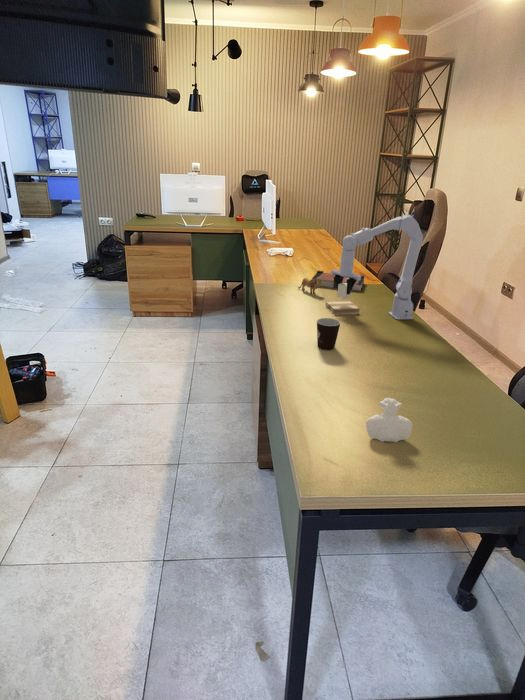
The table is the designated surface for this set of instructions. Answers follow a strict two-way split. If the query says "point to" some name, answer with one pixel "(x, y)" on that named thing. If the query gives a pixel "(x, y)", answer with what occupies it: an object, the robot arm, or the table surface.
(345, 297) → the white block
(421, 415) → the table surface
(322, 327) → the coffee mug
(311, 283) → the lion figurine
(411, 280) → the robot arm
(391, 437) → the bust
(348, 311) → the oak block
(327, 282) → the book
